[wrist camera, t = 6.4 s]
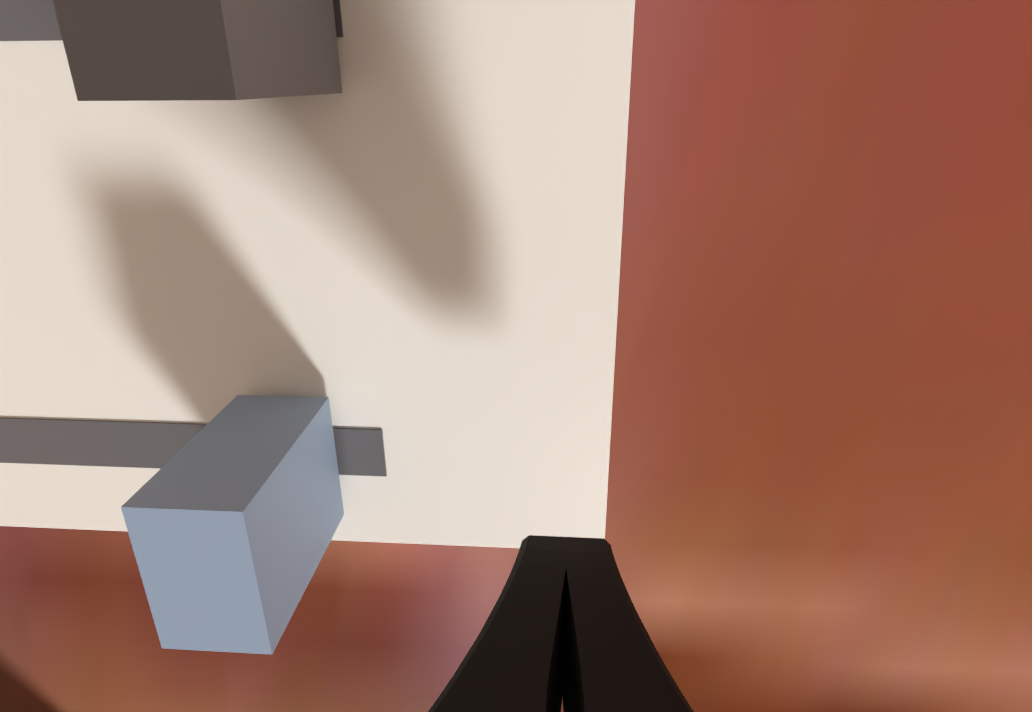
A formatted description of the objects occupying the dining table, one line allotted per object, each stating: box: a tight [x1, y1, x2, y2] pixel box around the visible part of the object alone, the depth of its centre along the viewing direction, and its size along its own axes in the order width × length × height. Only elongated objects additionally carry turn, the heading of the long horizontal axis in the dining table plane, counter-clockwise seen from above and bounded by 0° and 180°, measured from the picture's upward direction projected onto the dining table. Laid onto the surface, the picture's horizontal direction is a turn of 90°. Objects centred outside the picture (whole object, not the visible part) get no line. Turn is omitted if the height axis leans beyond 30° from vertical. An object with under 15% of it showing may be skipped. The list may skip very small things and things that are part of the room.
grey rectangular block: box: [121, 395, 344, 654], centre depth 13 cm, size 3×2×4 cm, turn 1°
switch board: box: [0, 0, 635, 548], centre depth 14 cm, size 15×21×3 cm
